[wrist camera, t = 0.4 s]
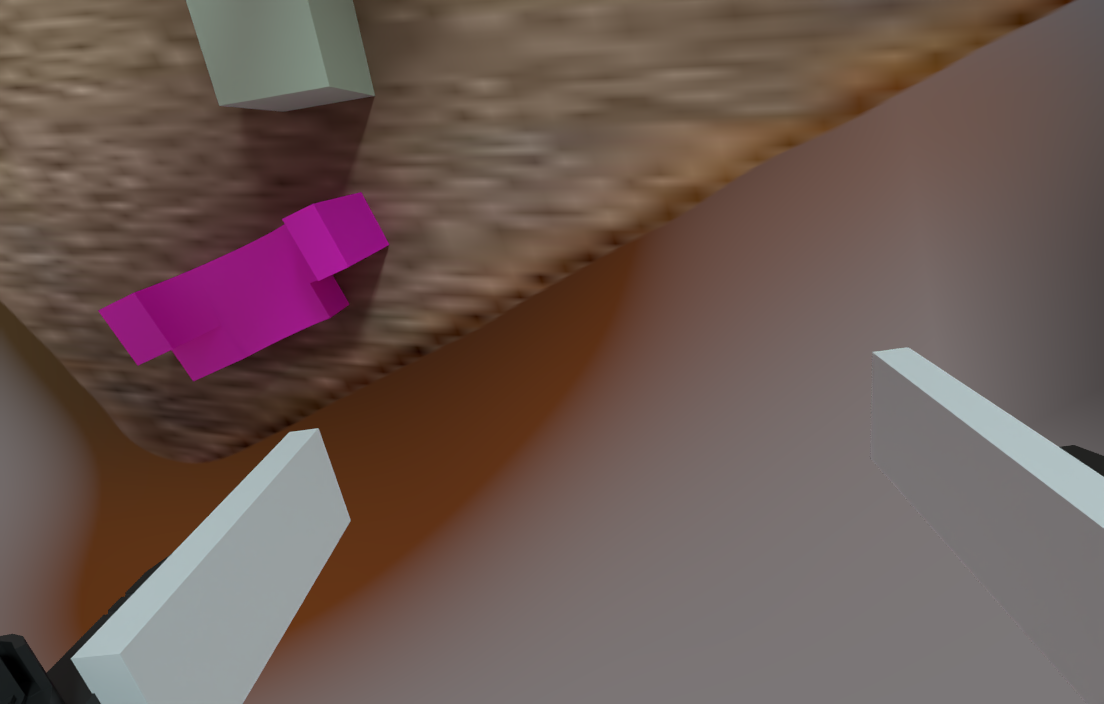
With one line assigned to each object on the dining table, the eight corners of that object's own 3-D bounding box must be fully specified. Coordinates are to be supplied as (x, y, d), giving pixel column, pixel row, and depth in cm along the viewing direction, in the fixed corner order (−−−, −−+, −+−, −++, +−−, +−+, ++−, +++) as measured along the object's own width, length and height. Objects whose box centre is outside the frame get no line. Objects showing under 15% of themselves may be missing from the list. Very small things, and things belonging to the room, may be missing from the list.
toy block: (231, 357, 43) (162, 400, 36) (180, 281, 41) (97, 310, 34) (408, 277, 40) (371, 306, 33) (362, 192, 38) (313, 203, 31)
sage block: (253, 4, 35) (177, -28, 28) (349, -15, 34) (294, -51, 28) (283, 111, 37) (219, 105, 30) (375, 95, 36) (329, 86, 30)
